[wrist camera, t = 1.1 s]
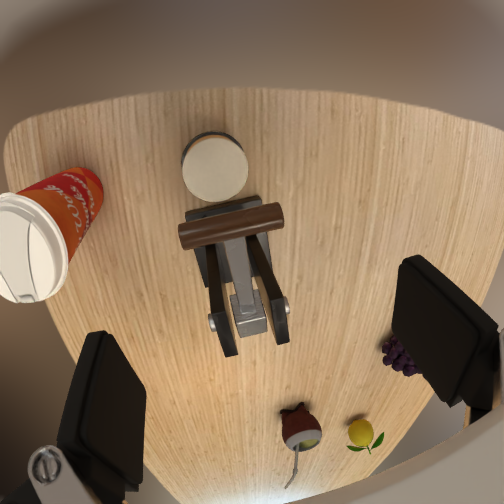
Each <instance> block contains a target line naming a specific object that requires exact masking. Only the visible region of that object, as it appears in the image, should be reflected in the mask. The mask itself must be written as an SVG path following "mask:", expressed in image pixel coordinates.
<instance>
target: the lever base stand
mask: <svg viewBox="0 0 504 504" xmlns="http://www.w3.org/2000/svg"><path fill="white" fill-rule="evenodd" d="M260 205H262V200H261V198H260V197H259V196H255V197H251V198H246V199H241V200H237V201H232V202H228V203H223V204H219V205H214V206H210V207H206V208H201V209H197V210H193V211H189V212H185V219H186V222H189V221H194V220H198V219H202V218H206V217H211V216H215V215H219V214H224V213H228V212H233V211H237V210H242V209H246V208H251V207H255V206H260ZM245 240H246V246H247V253H248V259H249V266H250V273H251V277H254V278H255V281H256V284H257V287H258V290H259V293H260V296H261V299H262V302H263V305H264V308H265V311H266V313H267V316H268V319H269V322H270V325H271V328H272V331H273V334H274V337H275V340H276V343H277V345H280V344H284V343H288V342H290V339H289V332H288V324H287V316H286V315H287V314H290V308H289V303H288V300H287V298H286V296H283V294H282V292H281V289H280V287H279V285H278V283H277V280H276V278H275V276H274V274H273V269H272V262H271V256H270V250H269V243H268V237H267V232H263V233H259V234H254V235H250V236H246V237H245ZM194 251H195V255H196V258H197V261H198V265H199V268H200V272H201V275H202V279H203V282H204V285H205V288H207V287H209V298H210V308H211V314H208V320H209V324H210V328H211V331H212V332H215V331H217V334H218V337H219V340H220V343H221V346H222V349H223V352H224V355H225V357H231V356H235V355H238V351H237V346H236V340H235V335H234V330H233V324H232V319H231V314H230V308H229V303H228V297H227V291H226V286H225V283H229V282H233V280H232V276H231V272H230V268H229V264H228V260H227V256H226V252H225V248H224V243H223V242H219V243H215V244H211V245H206V246H202V247H198V248H194Z"/></svg>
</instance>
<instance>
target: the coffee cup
mask: <svg viewBox="0 0 504 504" xmlns="http://www.w3.org/2000/svg"><path fill="white" fill-rule="evenodd" d="M102 202H103V187H102V184H101V182H100V180H99V179H98V177H97V176H96V175H95V174H94V173H93V172H92V171H90V170H88V169H86V168H81V167H75V168H71V169H68V170H65V171H62V172H60V173H58V174H55V175H53V176H51V177H49V178H46V179H44V180H42V181H40V182H38V183H36V184H34V185H32V186H30V187H28V188H26V189H24V190H22V191H20V192H18V193H16V194H14V193H11V192H9V193H3V194H1V195H0V295H2V296H3V297H5V298H6V299H8V300H10V301H12V302H15V303H18V302H22V303H30V302H31V303H32V302H35V301H39V300H40V301H42V300H44V299H46V298H49V297H51V296H52V295H54V294H55V293H56V292H57V291H58V290H59V289H60V288H61V287H62V285H63V284H64V281H65V279H66V276H67V272H68V264H69V262H70V261H71V259H72V257H73V255H74V253H75V251H76V250H77V248H78V246H79V244H80V243H81V241H82V239H83V237H84V236H85V234H86V232H87V230H88V229H89V227H90V225H91V224H92V222H93V220H94V219H95V217H96V215H97V213H98V212H99V210H100V208H101V205H102Z"/></svg>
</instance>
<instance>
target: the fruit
mask: <svg viewBox="0 0 504 504" xmlns="http://www.w3.org/2000/svg"><path fill="white" fill-rule="evenodd" d="M393 345H394V346H393ZM382 353H385V354H387V355H386V356H384V358H383V364H384V365H386V366H387V365H391V364H392V368H393V369H394V370H395V371H397V372H398V371H403V374H404V376H408V377H409V376H412V375H414V374H416V373H418V374H422V372H421V371H420V370H419V368H418V367H417V365H416V364H415V363H414V361H413V360H412V358H411V357H410V356H409V354H408V353H407V352H406V350H405V349H404V347H403V346H402V345H401V343H400V342H399V341H398V339H397V338H396V337H395V335H394V336H392V338H391V340H390V343H389V342H385V343H384V344H383V345H382ZM392 361H393V362H392ZM423 377H424V375H423ZM424 378H425V377H424ZM425 379H426V378H425Z"/></svg>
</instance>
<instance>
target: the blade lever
mask: <svg viewBox="0 0 504 504" xmlns="http://www.w3.org/2000/svg"><path fill="white" fill-rule="evenodd" d="M283 227H284V216H283V212H282V208H281V206H280V204H279V203H278V202H274V203H270V204H265V205H260V206H255V207H251V208H246V209H242V210H237V211H233V212H228V213H224V214H219V215H215V216H211V217H206V218H202V219H198V220H194V221H189V222H185V223H181V224H179V225H178V233H179V238H180V242H181V245H182V248H183V249H184V250H189V249H193V248H198V247H202V246H206V245H211V244H215V243H219V242H223V243H224V248H225V252H226V256H227V260H228V264H229V268H230V272H231V276H232V280H233V284H234V288H235V292H236V294H234V295H230V301H231V306H232V311H233V315H234V320H235V324H236V327H237V330H238V333H239V336H240V338H243V337H247V336H251V335H256V334H260V333H264V332H267V331H268V330H267V320H266V314H265V310H264V307H263V303H262V300H261V296H260V293H259V290H258V289H256V290H253V286H252V279H251V273H250V266H249V259H248V253H247V246H246V240H245V237H246V236H250V235H254V234H259V233H263V232H268V231H272V230H277V229H281V228H283Z"/></svg>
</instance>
